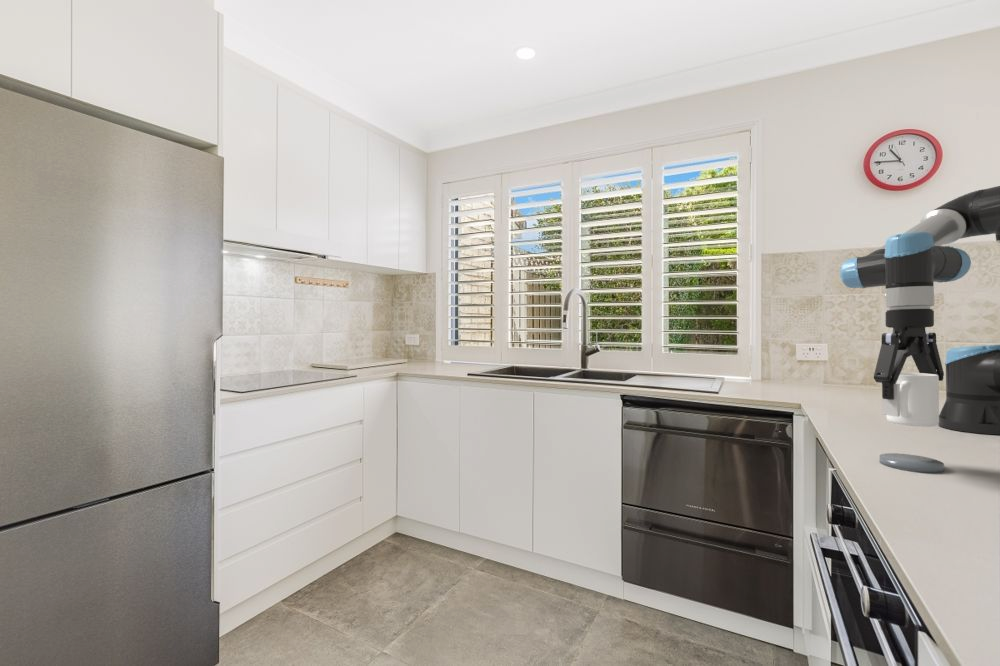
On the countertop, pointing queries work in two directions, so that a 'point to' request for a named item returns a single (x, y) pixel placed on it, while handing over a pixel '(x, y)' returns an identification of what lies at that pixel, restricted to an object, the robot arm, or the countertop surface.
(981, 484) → the countertop surface
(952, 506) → the countertop surface
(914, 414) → the mug
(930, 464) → the slate plate
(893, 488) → the countertop surface
